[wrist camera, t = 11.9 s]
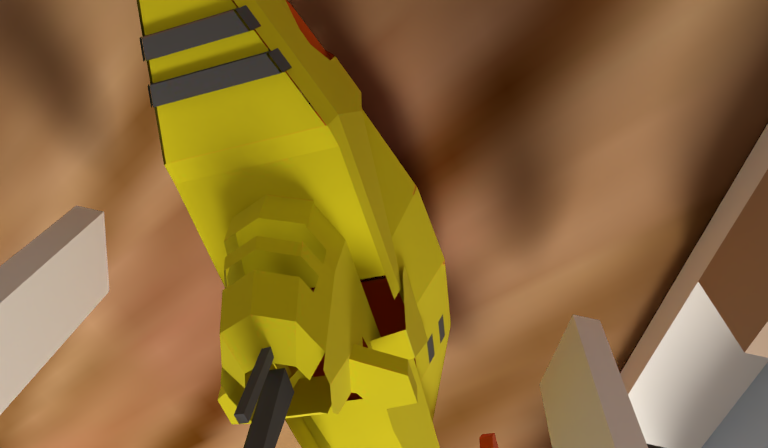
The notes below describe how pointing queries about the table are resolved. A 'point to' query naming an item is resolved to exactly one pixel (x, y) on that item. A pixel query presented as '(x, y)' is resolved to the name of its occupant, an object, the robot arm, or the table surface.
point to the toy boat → (299, 229)
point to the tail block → (745, 419)
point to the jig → (708, 321)
